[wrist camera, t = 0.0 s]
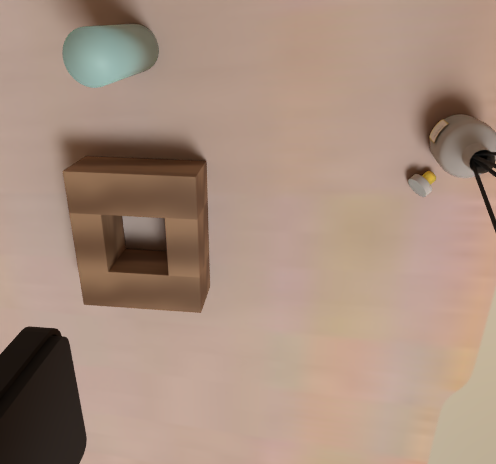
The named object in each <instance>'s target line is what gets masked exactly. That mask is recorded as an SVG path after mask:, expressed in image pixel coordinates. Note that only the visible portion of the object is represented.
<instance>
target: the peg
mask: <svg viewBox="0 0 496 464" xmlns="http://www.w3.org/2000/svg"><path fill="white" fill-rule="evenodd" d="M158 52H159V48H158V43H157V40H156V38H155V36H154V35H153V33H152V32H151V31H150V30H149V29H148V28H146V27H145V26H143V25H140V24H120V25H103V26H86V27H79V28H77V29H75V30H73V31H72V32H71V33H70V34H69V35H68V36H67V38H66V40H65V42H64V45H63V60H64V64H65V66H66V68H67V70H68V72H69V73H70V75H71V76H72V77H73V78H74V79H75V80H76V81H77V82H79V83H80V84H82V85H84V86H87V87H92V88H98V87H102V86H105V85H108V84H110V83H113V82H116V81H119V80H122V79H124V78H127V77H130V76H133V75H135V74H138V73H141V72H144V71H146V70H148V69H150V68H151V67H152V66H153V65H154V64H155V62H156V60H157V58H158Z"/></svg>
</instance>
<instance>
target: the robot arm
mask: <svg viewBox="0 0 496 464" xmlns="http://www.w3.org/2000/svg"><path fill="white" fill-rule="evenodd" d="M85 447H86V432H85V426H84V421H83V415H82V410H81V404H80V399H79V393H78V388H77V382H76V377H75V372H74V366H73V361H72V355H71V350H70V344H69V341H68V339H67V338H66V337H62V336H61V333H60V331H59V330H58V329H55V328H42V327H26V328H24V329H23V330H22V331H21V332H20V333H19V334H18V335H17V336H16V337H15V339H14V340H13V341H12V342H11V343H10V344H9V345H8V346H7V348H6V349H5V350H4V351H3V352H2V353H1V354H0V464H79V463H80V461H81V459H82V457H83V454H84V451H85Z"/></svg>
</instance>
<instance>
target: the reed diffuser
mask: <svg viewBox="0 0 496 464" xmlns="http://www.w3.org/2000/svg"><path fill="white" fill-rule="evenodd" d="M429 138H430V150H431V153H432V154H433V156H434V158H435V159H436V161H437V162H438V163H439V165H440V166H441V167H442V168H443V169H444V170H445V171H446V172H447V173H449V174H450V175H453V176H455V177H459V178H471V177H476V180H477V183H478V186H479V188H480V191H481V194H482V196H483V199H484V202H485V205H486V207H487V210H488V213H489V216H490V218H491V221H492V224H493V227H494V229H495V232H496V219H495V216H494V214H493V211H492V208H491V206H490V203H489V200H488V198H487V195H486V192H485V190H484V187H483V184H482V182H481V179H480V177H479V175H480V174H482V173H486V172H489V173H491V174H492V175H493V176H495V177H496V172H495V171H493V170H492V168H493V167H494V168H496V164H495V161H496V133H495V131H494V130H493V129H492V128H491V127H490V126H489V125H487V124H486V123H484V122H482V121H480V120H478V119H476V118H474V117H471V116H469V115H464V114H458V115H452V116H450V117H447V118H446V119H444V120H443V119H442V120H441V121H439V122H438V123H437V124H436V126H435V127H434V128H433V130H432V131H431V134H430V136H429ZM435 180H436V176H435V175H434V173H432V172H431V171H427V172H425V173H424V174H423V175H422V176H421V175H419V174H415V175H414V176H412V177H411V178H410V179H409V180H408V183H409V185H410V187H411V188H412V190H413V191H414V192H415V193H416V194H418V195H419V196H422V197H425V196H427V195H428V194H429V193H430V192H431V191H432V188H431V184H432V183H433V182H434V181H435Z"/></svg>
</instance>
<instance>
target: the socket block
mask: <svg viewBox="0 0 496 464" xmlns="http://www.w3.org/2000/svg"><path fill="white" fill-rule="evenodd" d="M63 176H64V183H65V189H66V195H67V201H68V208H69V214H70V220H71V227H72V233H73V239H74V245H75V252H76V258H77V264H78V270H79V277H80V283H81V289H82V295H83V302H84V305H97V306H111V307H126V308H140V309H154V310H169V311H183V312H197V313H201V311H202V308H203V305H204V302H205V299H206V297H207V294H208V291H209V288H210V270H209V235H208V199H207V164H206V161H196V160H171V159H145V158H120V157H94V156H86V157H84V158H82V159H81V160H79V161H78V162H76V163H75V164H73V165H72V166H70V167H69V168H67V169H66V170H64V171H63ZM122 216H136V217H156V218H165V229H166V244H167V251H155V250H138V249H126V248H125V238H124V229H123V220H122Z"/></svg>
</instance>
